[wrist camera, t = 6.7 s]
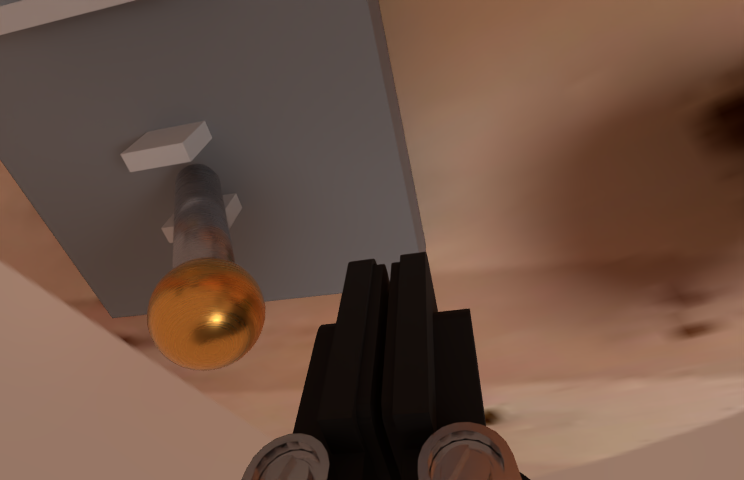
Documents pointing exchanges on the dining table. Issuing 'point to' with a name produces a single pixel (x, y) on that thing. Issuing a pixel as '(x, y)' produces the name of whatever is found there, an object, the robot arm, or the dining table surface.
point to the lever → (204, 283)
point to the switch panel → (208, 135)
